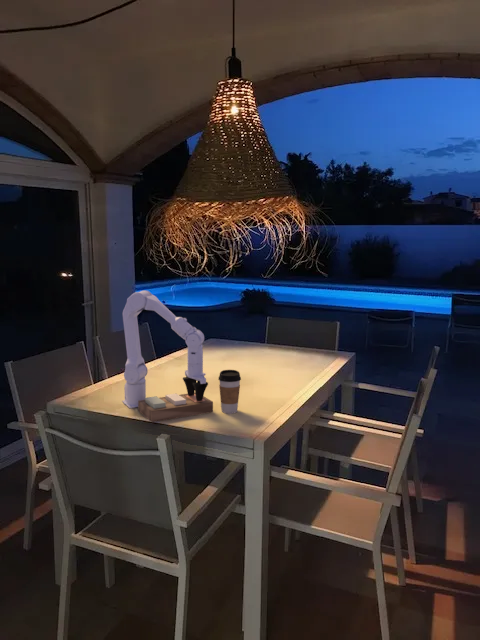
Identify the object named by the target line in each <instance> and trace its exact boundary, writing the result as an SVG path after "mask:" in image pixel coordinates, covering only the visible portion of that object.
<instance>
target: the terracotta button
mask: <svg viewBox="0 0 480 640" xmlns="http://www.w3.org/2000/svg"><path fill="white" fill-rule="evenodd" d="M185 397H187V398H188V399H190V400H191V401H193V402H201V401H197V400H196V394H194V395H192V396H188V395H187V396H185ZM202 401H206V400H204V399H202Z"/></svg>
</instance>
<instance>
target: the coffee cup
mask: <svg viewBox="0 0 480 640" xmlns="http://www.w3.org/2000/svg"><path fill="white" fill-rule="evenodd" d="M241 380H242V378H241V373H240V371H238V370H236V369H223V370H221V371H220V372H219V376H218V381H219V384H218V385H219V386H218V387H219V397H220V407H221V412H222V413H224V414H229V415H230V414H236V413H237V412H238V407H239V398H240V390H241V389H240V388H241V385H240V382H241Z"/></svg>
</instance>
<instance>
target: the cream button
mask: <svg viewBox="0 0 480 640" xmlns="http://www.w3.org/2000/svg"><path fill="white" fill-rule="evenodd" d="M180 395H181V394H178V393H170V394H165V395H164V397H166V400H167V401H169V402H170V403H171V404H173V405H174V406H175V405H182V404H186V399H184V398H183V397H181V396H180Z"/></svg>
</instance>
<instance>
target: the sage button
mask: <svg viewBox="0 0 480 640" xmlns="http://www.w3.org/2000/svg"><path fill="white" fill-rule="evenodd" d="M145 403H147V404H148V405H149V406H151V407H152V408H153V409H156V408H162V407H166V403H165V402H164V401H163V400H161V399H160V397H158V396H148V397H147V396H146V398H145Z"/></svg>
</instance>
